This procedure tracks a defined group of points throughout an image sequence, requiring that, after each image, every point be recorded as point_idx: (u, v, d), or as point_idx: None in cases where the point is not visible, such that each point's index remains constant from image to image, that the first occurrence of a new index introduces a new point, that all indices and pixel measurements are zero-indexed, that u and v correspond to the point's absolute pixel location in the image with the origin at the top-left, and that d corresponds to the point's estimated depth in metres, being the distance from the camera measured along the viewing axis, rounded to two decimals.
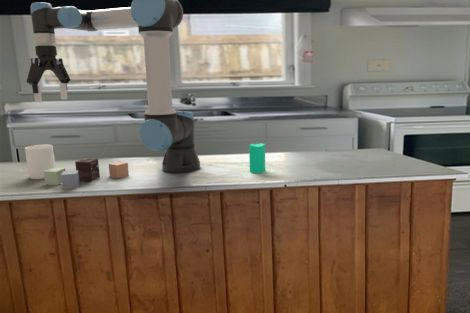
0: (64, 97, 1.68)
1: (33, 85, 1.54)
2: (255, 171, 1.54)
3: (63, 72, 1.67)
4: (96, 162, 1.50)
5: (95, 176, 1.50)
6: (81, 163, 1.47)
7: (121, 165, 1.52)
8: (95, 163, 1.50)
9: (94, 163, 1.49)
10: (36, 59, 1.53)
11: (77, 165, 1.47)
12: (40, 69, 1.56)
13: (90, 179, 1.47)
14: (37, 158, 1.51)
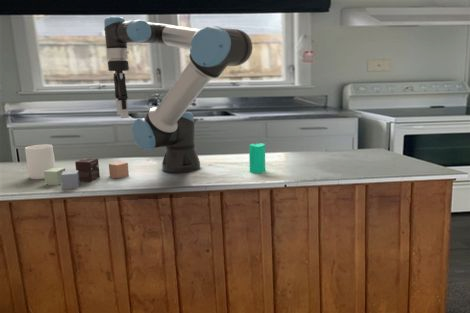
0: None
1: None
2: (255, 171, 1.54)
3: None
4: (96, 162, 1.50)
5: (95, 176, 1.50)
6: (81, 163, 1.47)
7: (121, 165, 1.52)
8: (95, 163, 1.50)
9: (94, 163, 1.49)
10: None
11: (77, 165, 1.47)
12: None
13: (90, 179, 1.47)
14: (37, 158, 1.51)
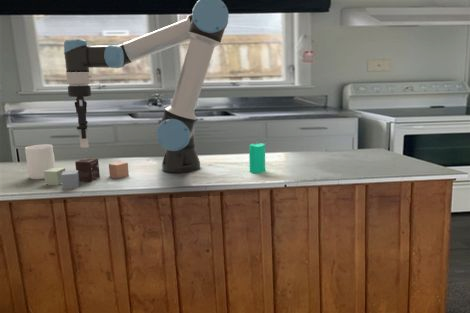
0: None
1: None
2: (255, 171, 1.54)
3: None
4: (96, 162, 1.50)
5: (95, 176, 1.50)
6: (81, 163, 1.47)
7: (121, 165, 1.52)
8: (95, 163, 1.50)
9: (94, 163, 1.49)
10: None
11: (77, 165, 1.47)
12: None
13: (90, 179, 1.47)
14: (37, 158, 1.51)
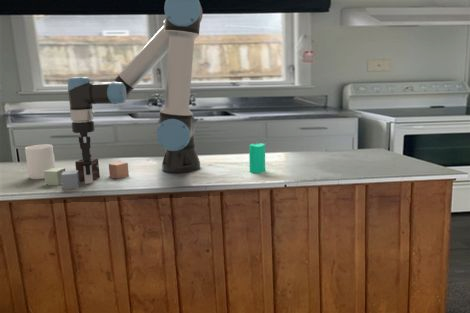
0: None
1: None
2: (255, 171, 1.54)
3: None
4: (96, 162, 1.50)
5: (95, 176, 1.50)
6: (81, 163, 1.47)
7: (121, 165, 1.52)
8: (95, 163, 1.50)
9: (94, 163, 1.49)
10: None
11: (77, 165, 1.47)
12: None
13: None
14: (37, 158, 1.51)
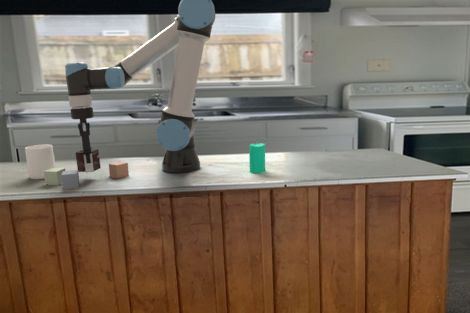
0: None
1: None
2: (255, 171, 1.54)
3: None
4: (96, 152, 1.50)
5: (95, 166, 1.49)
6: (81, 153, 1.46)
7: (121, 165, 1.52)
8: (96, 153, 1.49)
9: (95, 153, 1.49)
10: None
11: (77, 156, 1.47)
12: None
13: None
14: (37, 158, 1.51)
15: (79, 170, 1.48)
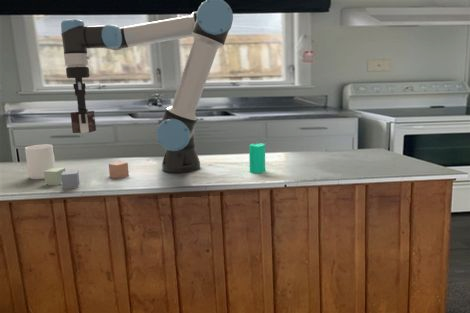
0: None
1: None
2: (255, 171, 1.54)
3: None
4: (92, 114, 1.47)
5: (91, 128, 1.46)
6: (76, 114, 1.43)
7: (121, 165, 1.52)
8: (91, 115, 1.46)
9: (90, 114, 1.46)
10: None
11: (72, 116, 1.44)
12: None
13: None
14: (37, 158, 1.51)
15: (74, 131, 1.45)
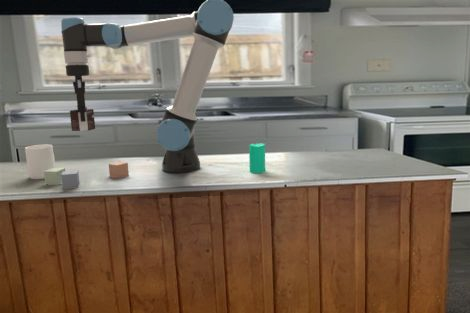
0: None
1: None
2: (255, 171, 1.54)
3: None
4: (91, 112, 1.47)
5: (90, 126, 1.46)
6: None
7: (121, 165, 1.52)
8: (90, 113, 1.46)
9: (90, 112, 1.45)
10: None
11: (72, 114, 1.43)
12: None
13: None
14: (37, 158, 1.51)
15: (73, 129, 1.44)
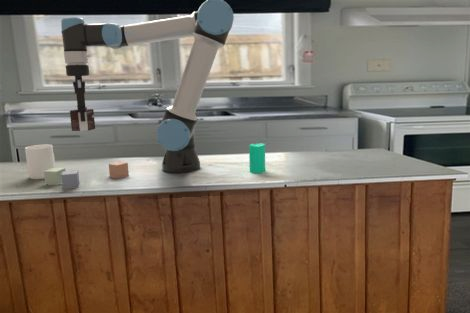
0: None
1: None
2: (255, 171, 1.54)
3: None
4: (91, 112, 1.47)
5: (90, 126, 1.46)
6: None
7: (121, 165, 1.52)
8: (90, 113, 1.46)
9: (90, 112, 1.45)
10: None
11: (72, 114, 1.43)
12: None
13: None
14: (37, 158, 1.51)
15: (73, 129, 1.44)
